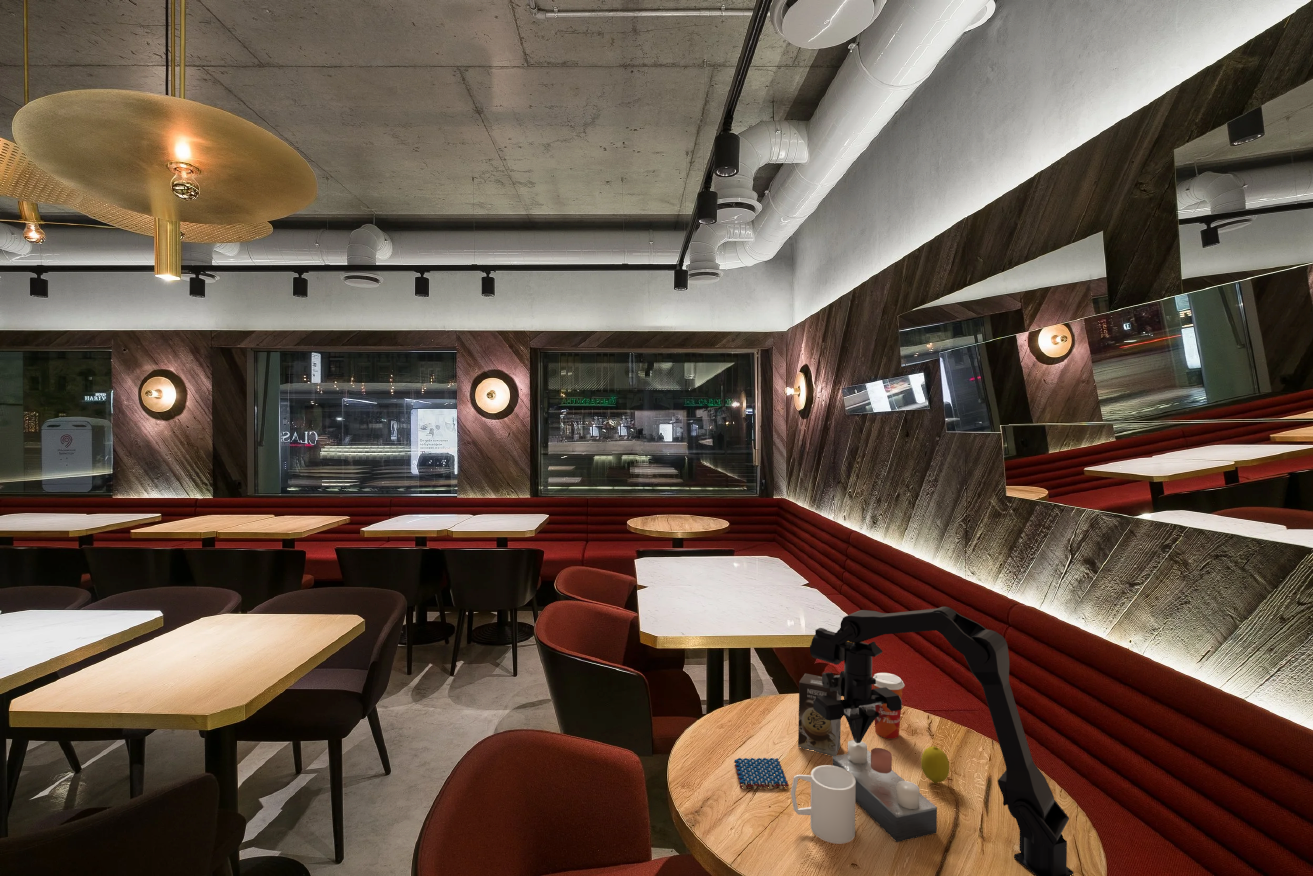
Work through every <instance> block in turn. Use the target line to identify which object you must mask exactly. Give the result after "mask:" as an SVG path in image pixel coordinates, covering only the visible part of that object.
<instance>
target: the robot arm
mask: <svg viewBox="0 0 1313 876" xmlns="http://www.w3.org/2000/svg"><path fill="white" fill-rule="evenodd" d="M839 625H840V627H839V629H838V630H837V631H836V632H835V631H831V630H828V629H826V628H824V627H819V628H816V629H815V634H814V636H813V638H812V639H811V643H810V644H809V651H810V655H811V657H812V658H814V659H817V660H820V661H824V662H827V663H829V664H833V665H836V666H837V665H840V664H841V663H842V662H844V663H843V664H844V669H843V670H841V671H840V673H839V674H837V675H836V674H835V675H834V673H833V672H822V674H821V675H822V676H821V677H822V684H823V687H824V688H830V691H838V695H840V696H841V697H843V699H841V700H836V699H835V698H834V697H832V696H831V695H825V696H818V697H816V698H815V699H814V701H813V709H814V710H815V711H816V712H818V713H819V714H820V715H821V716H822V717H824V718H825V719H826V720H830V721H831V720H837V719H841V720H842V718H843V717H844V718H845V719H846V721H847V723H848V726H849V730H850V732H851V735H852V738H853V739H852V740H854V741H855V742H856V743H860V742H861V741H862V742H863V739H864V737H865V735H866V733H867V732H868V730H869V729H870V727H871V726H872V724H873V723H874V722H875V718H876V717H879V713H878V712H876V711H875V705H879V704H886V703H887V708H888V709H889V710H890V711H897V710H901V711H902V710H903V709H902V708H903V699H902V700H901V698H900V696H899V695H897V694H896V693H894V692H893V691H891V690H889V689H888V688H886V687H883V688H876V689H873V684H876V679H874V678H873V658H876V657H878V656H879V655H881V654H882V653H883V650H882V648H881V647H880V646H878V645H877V643H876V642H875V641H872V642H870V643H867V642H864V641H868V640H872V639H874V638H878V637H880V636H884V635H893V634H895V635H896V634H905V633H906V634H907V633H920V632H921V633H922V632H932V631H933V632H934V631H937V632H938V633H939V634H941V635H942V636H943V637H944V639H945V640H946V641H947V642H948V643H949V644H950V645H951V647H952V648H953V649H954V650H956V651H958V652H959V653H960V654H961V655H963V657H964V659H965V661H966V664H967V665H968V667H969V669H970V671H971V673H972V674H973V676H974V678H976V680H977V681H978V683H980V684H981V687H982V689H983V690H982V691H983V693H984V696H985V699H986V704H987V706H988V710H989V713H990V717H991V720H992V724H993V727H994V730H995V731H994V732H995V734H996V738H997V741H998V744H999V747H1000V751H1001V754H1002V757H1003V761H1004V764H1005V771H1004V772H1003V773H1002V774H1001V776H999V778H998V780H997V784H998V787H999V790H1000V792H1001V795H1002V799H1003V800H1002V801H1003V802H1002V806H1007V810H1008V811H1009V813H1010V815H1011V816H1012V817H1013V819H1015V820H1016V824H1017V826H1018V829H1019V852H1018V853H1014V855H1013V857H1014V860H1016V861H1017V862H1019V863H1020V864H1021V865H1022V866H1023V867H1025V868H1026V869H1027V870H1028V871H1030V872H1031V873H1032V874H1033V875H1035V876H1070V875H1072V874H1073V875H1074V870H1072V869H1071V868H1069V867H1068V866H1067V864H1068V863H1067V862H1068V858H1067V856H1068V855H1067V854H1068V853H1067V852H1068V841H1067V840H1066V839H1065V838H1064V836H1063V834H1062V833H1063V831H1064V830H1065V827H1066V826H1067V824H1068V822H1069V820H1070V817H1069V815H1068V814H1067V812H1065V811H1064V809H1063V808H1062V807H1061V806H1060V805H1059V804H1058V802H1057V801H1056V799H1055V797H1054V794H1053V791H1052V790H1051V788H1050V787H1051V786H1050V785H1049V783H1048V781H1047V779H1046V777H1045V775H1044V774H1043V773H1042V772H1041V770H1040V769H1039V768H1038V767H1037V765H1036V764H1035V762H1034V760H1033V757H1032V754H1031V750H1030V747H1029V744H1028V740H1027V738H1026V734H1025V730H1024V727H1023V723H1022V720H1021V717H1020V713H1019V711H1018V707H1017V704H1016V701H1015V698H1014V693H1013V690H1012V687H1011V685H1010V684H1011V683H1010V655H1009V653H1010V652H1009V648H1008V647H1009V646H1008V642H1007V641H1006V638H1005V637H1004V636H1003V635H1001V634H1000V633H998V632H997V631H995V630H992V629H987V628H986V627H984V626H983V625H982V624H980V623H979V622H977V621H975V620H973V619H970V618H969V617H966V616H964V615H961V614H960V613H959V612H957V611H956V610H954V609H953V608H951V607H950V606H949V607H948V606H941V607H938V608H937V607H936V608H927V609H921V610H920V609H919V610H910V611H899V612H890V613H888V612H887V613H886V612H885V613H884V612H880V611H876V610H869V609H868V610H866V609H861V610H858V611H855V612H852V613H850V614H848V615H846V616H843V617H842V620H841V622H840V624H839Z"/></svg>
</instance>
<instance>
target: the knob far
mask: <svg viewBox="0 0 1313 876" xmlns="http://www.w3.org/2000/svg"><path fill="white" fill-rule="evenodd" d="M867 750H868V745H867V743H866V742H864V741H863V740H862V741H861V742H860V743H856V742H855V741H854V739H851V740H848V742H847V754H848V759H849V760H850V761H852V762H854V763H859V764H862V763H866V762H867Z"/></svg>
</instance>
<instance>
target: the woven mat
mask: <svg viewBox="0 0 1313 876" xmlns="http://www.w3.org/2000/svg"><path fill="white" fill-rule="evenodd" d="M778 758H779V757H776V758H773V757H770V758H769V757H768V758H766V757H758V758H754V757H751V758H749V757H748V758H747V757H745V758H742V757H738V758H736V759H734V762H733V763H734V767H735V770H736V775H737V777H738V782H739V787H740V788H741V787H743V788H742V789H743V790H746V789H747V788H748V787H749V788H751V789H754V790H756V789H759V788H761V789H762V787H763V789H764V788H765V789H766V788H768V787H769V788H768V789H769V790H773V788H772V787H776V788H777V787H778V789H779V790H783V787H784V786H785V787H786V786H787V787H789V786H790V784H789V782H788V780H787V777H786V775H785V772H784V769H783V768H782V764H781V762H780V761H779V759H778ZM774 774H775V775H774ZM741 784H742V785H741ZM746 787H747V788H746ZM749 788H748V789H749Z"/></svg>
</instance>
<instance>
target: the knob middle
mask: <svg viewBox="0 0 1313 876" xmlns="http://www.w3.org/2000/svg"><path fill="white" fill-rule="evenodd" d="M870 752H871V768H872V769H873V770H875V771H877V772H879V773H890V772H891V771H892V770H893V769H892V768H893V767H892V766H893V764H892V763H893V755H892V752H891V751H890V750H887V749H885V748H882V747H874V748H872V749H871V750H870Z"/></svg>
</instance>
